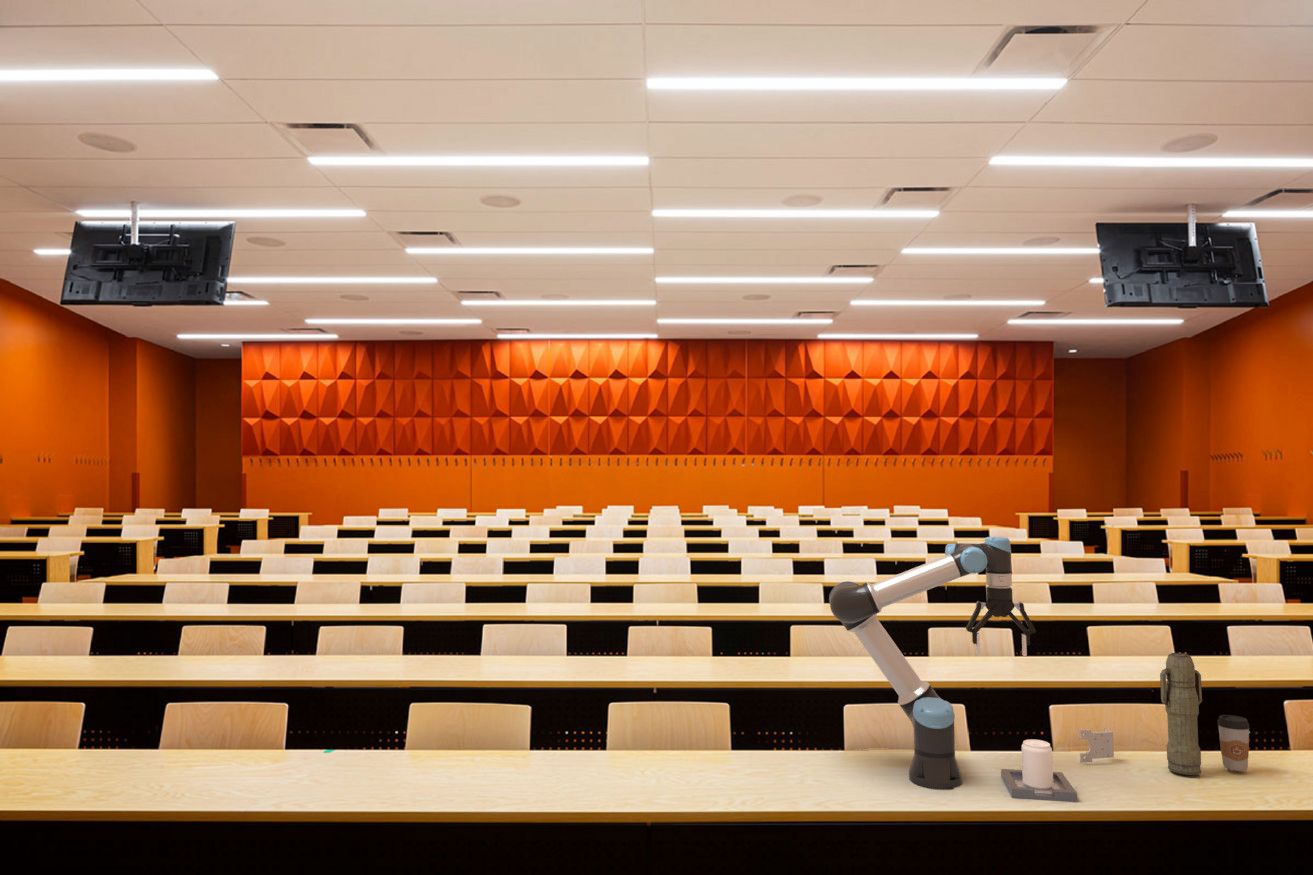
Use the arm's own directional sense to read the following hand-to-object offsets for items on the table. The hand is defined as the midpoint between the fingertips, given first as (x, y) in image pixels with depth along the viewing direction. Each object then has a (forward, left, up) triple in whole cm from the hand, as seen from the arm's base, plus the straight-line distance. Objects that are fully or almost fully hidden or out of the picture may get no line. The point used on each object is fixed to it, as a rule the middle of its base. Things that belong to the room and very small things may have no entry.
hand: (1001, 655), depth 269 cm
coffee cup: (+69, +13, -35) cm, 78 cm away
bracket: (+29, +14, -35) cm, 48 cm away
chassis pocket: (+6, -17, -35) cm, 39 cm away
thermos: (+53, +8, -35) cm, 64 cm away
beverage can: (+6, -17, -34) cm, 38 cm away
